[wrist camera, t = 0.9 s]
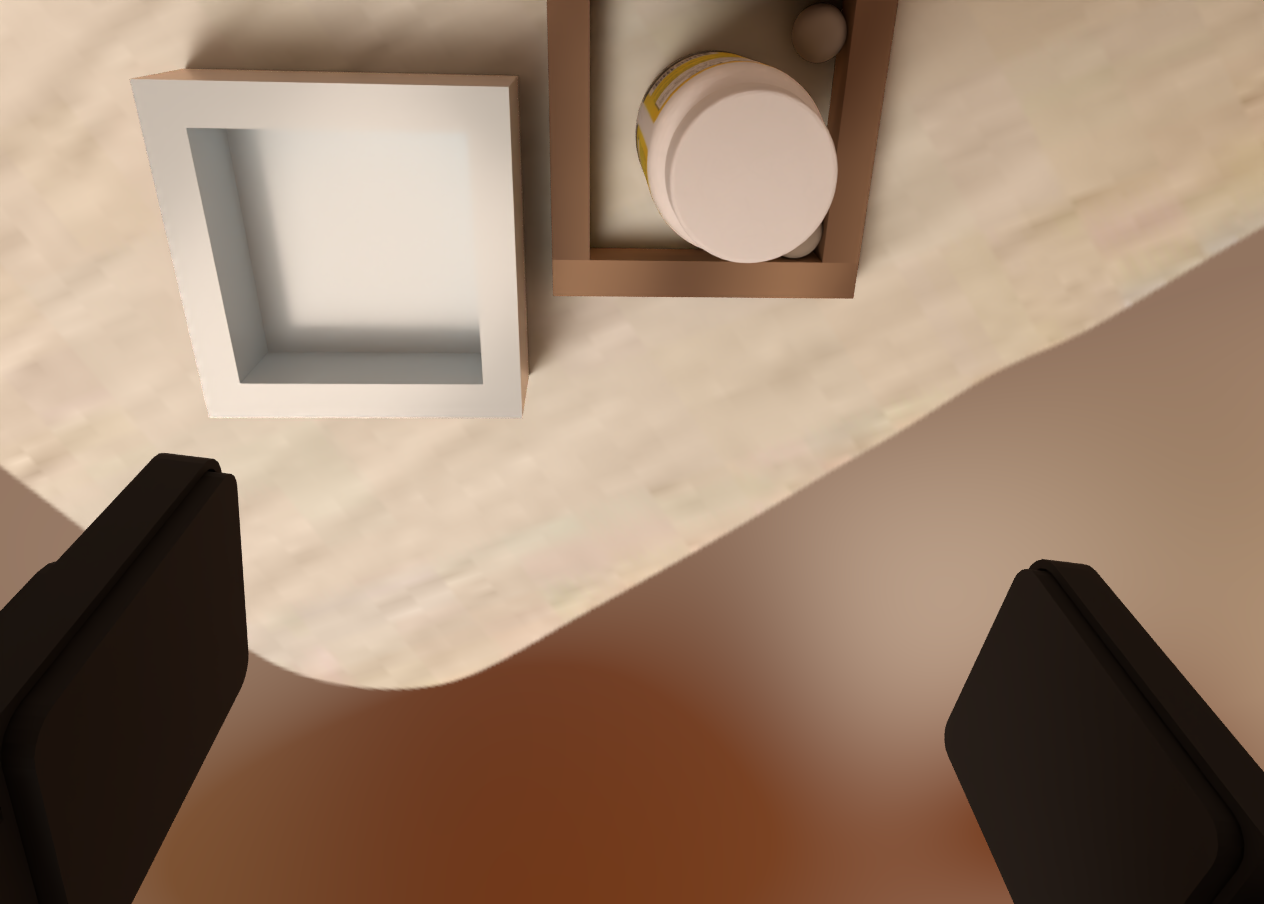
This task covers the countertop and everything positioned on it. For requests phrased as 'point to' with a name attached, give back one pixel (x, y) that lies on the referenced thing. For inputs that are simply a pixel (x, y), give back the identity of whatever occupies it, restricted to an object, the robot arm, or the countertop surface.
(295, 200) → the grey square open box
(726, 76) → the supplement bottle
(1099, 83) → the countertop surface
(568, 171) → the tray
